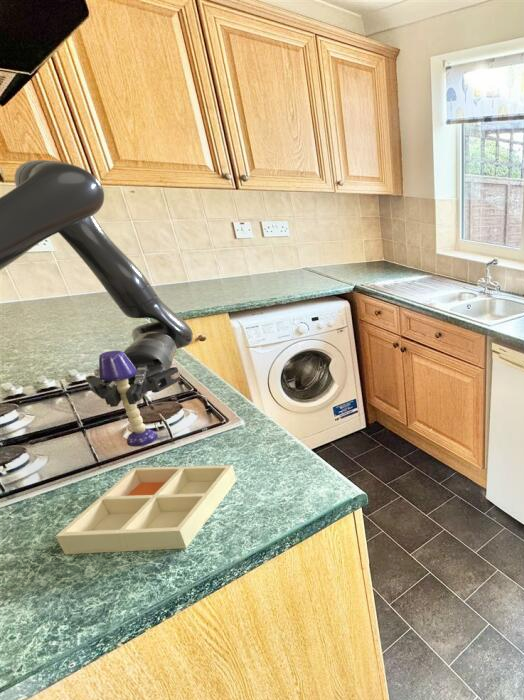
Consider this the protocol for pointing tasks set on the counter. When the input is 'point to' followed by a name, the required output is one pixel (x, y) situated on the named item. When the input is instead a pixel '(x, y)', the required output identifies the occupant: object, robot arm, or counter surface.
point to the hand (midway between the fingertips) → (121, 400)
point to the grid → (149, 510)
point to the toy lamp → (119, 371)
